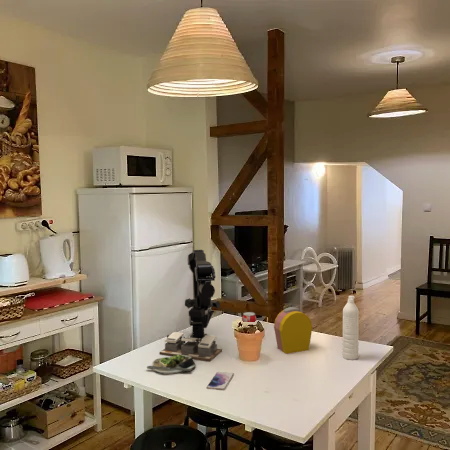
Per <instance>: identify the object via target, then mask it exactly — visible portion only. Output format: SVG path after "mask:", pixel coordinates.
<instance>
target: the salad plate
mask: <svg viewBox="0 0 450 450" xmlns="http://www.w3.org/2000/svg"><path fill="white" fill-rule="evenodd" d="M196 366H197V365H196V362H195V360H194V359H193V358H191V357H190V356H186V355H177V356H167V357H165V356H163V357H159V358H156V359H154V360H153V361H152V365H147V366H146V369H147V370H152V371H155V372H158V373H160V374H163V375H164V374H165V375H174V374H183V373H189V372H192V371H193V370H194V369H195V368H196Z"/></svg>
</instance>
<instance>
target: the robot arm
mask: <svg viewBox="0 0 450 450" xmlns="http://www.w3.org/2000/svg"><path fill="white" fill-rule="evenodd" d="M187 265H188V269H189V270H190V272H191V273H192V289H193V290H192V291H193V293H192V296H193V298H186V299H185V300H184V307H186V308H187V309H189V311H188V316H189V317H188V323H189V326H192V327H191V328H192V334H191V335H190V336H189V337H191V338H199V339H203V338H204V337H205V335H208V334H207V333H205V329H207V328H208V326H209V323H210V322H211V319H212V317H213V315H214V313H215V310H212V308H215V309H219V308H221V303H220V302H219V300H212V297H214V295H215V293H216V292H215V291H216V289H215V287H214V285H213V284H212V281H214V282H215V279H216V271H215V268H214V265H212V263H211V262H209V261H207V256H206V253H205V250H203V249H193V250H192V252H191V253H189V254H188V255H187Z"/></svg>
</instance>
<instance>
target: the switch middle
mask: <svg viewBox="0 0 450 450" xmlns="http://www.w3.org/2000/svg"><path fill="white" fill-rule="evenodd" d="M196 339H199V338H191V337H190V336H189V337H185V338H183V337H182V338H181V340H182V341H185V342H188V341H190V342H194V341H195V342H196ZM199 340H200V339H199Z"/></svg>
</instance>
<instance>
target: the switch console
mask: <svg viewBox="0 0 450 450" xmlns="http://www.w3.org/2000/svg"><path fill="white" fill-rule="evenodd" d="M169 336H170V334H167V335H166V339H167V338H168V337H169ZM181 338H186V337H185V336H182V337H180V339H179V340H178V341H177V342H176V343H170V342H165V343H164V349H163V350H161V351H158V352H159V353H158V354H159V355H162V356H167V357H173V356H177V355H186V356H190V357H191V358H193V361H195V360H196V361H201V362H202V361H203V362H211V361H213V360H214V359H215V358H216V357H218V356H219V355H221V353H222V352H223V349H222V348H218V346H217V345H218V344H216V342H217V341H216V340H215V341H213V344H212V345H211V347H210V348H209V349H208V348H201V347H198V345H199V343H200V342H201V341H202V339H203V338H202V339H200V340H199V339H196V341H194V342H190V341H182V340H181Z"/></svg>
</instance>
